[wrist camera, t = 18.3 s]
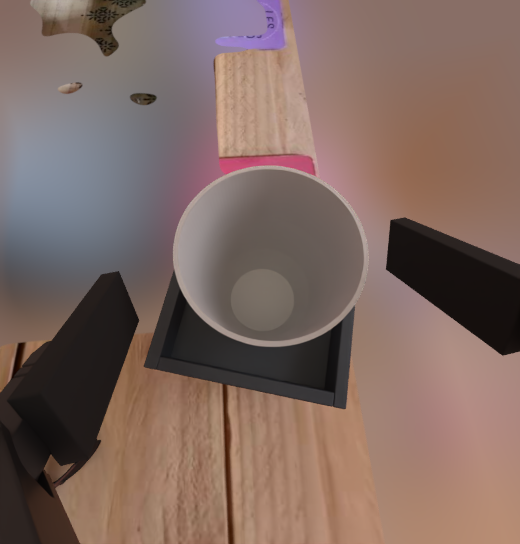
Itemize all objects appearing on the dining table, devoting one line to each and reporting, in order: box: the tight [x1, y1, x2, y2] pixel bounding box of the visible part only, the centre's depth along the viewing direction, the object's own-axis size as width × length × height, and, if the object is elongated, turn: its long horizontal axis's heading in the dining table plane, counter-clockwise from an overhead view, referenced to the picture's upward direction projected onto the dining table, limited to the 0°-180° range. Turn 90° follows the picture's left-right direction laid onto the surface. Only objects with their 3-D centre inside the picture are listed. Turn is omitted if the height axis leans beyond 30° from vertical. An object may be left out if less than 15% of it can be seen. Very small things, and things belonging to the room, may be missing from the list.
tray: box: [144, 269, 355, 409], centre depth 20 cm, size 13×13×3 cm
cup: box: [173, 166, 369, 347], centre depth 16 cm, size 8×8×10 cm
